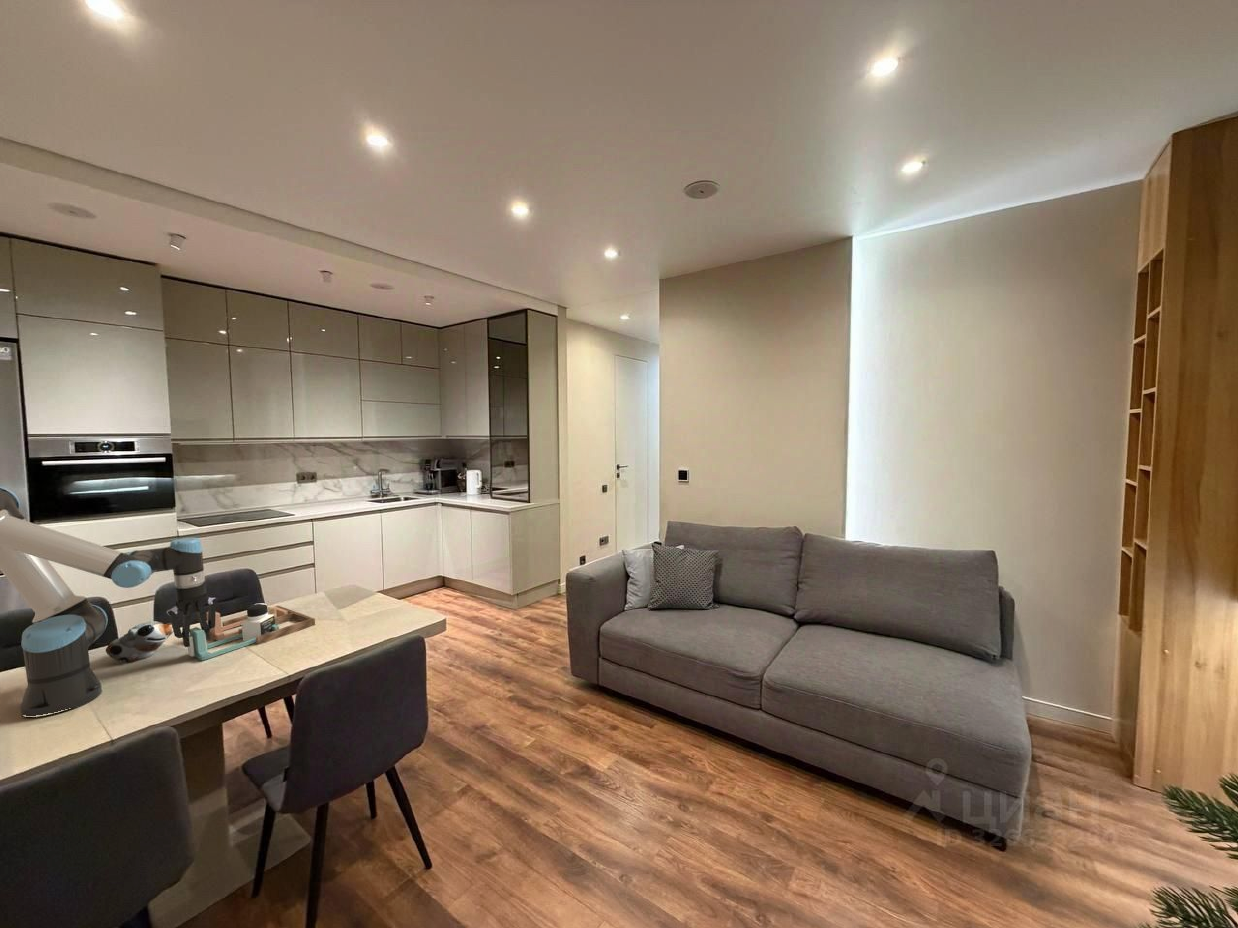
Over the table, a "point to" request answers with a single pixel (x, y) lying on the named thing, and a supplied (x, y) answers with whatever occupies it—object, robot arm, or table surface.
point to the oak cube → (272, 611)
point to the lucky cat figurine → (139, 641)
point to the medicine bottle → (257, 621)
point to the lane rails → (304, 623)
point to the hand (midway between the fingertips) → (197, 652)
